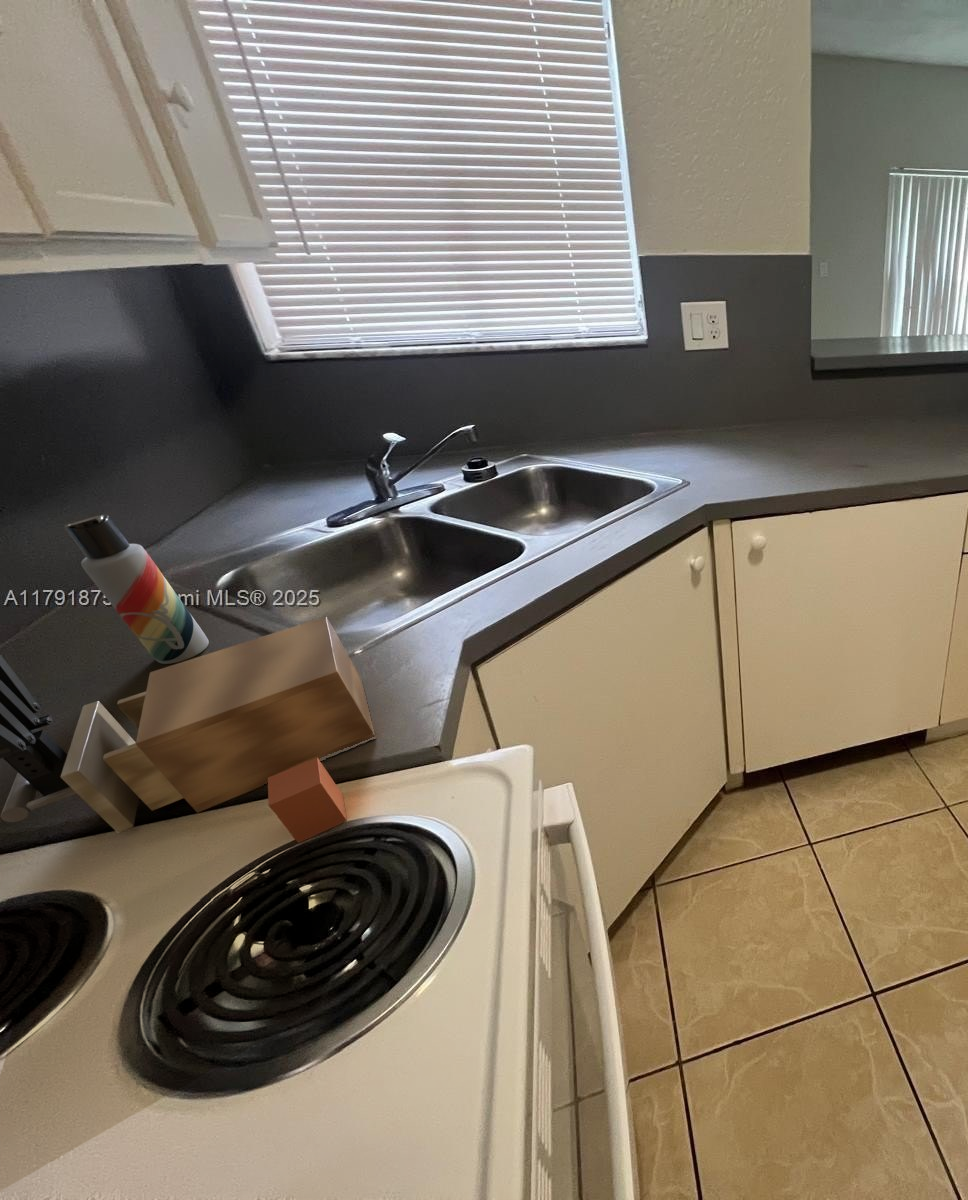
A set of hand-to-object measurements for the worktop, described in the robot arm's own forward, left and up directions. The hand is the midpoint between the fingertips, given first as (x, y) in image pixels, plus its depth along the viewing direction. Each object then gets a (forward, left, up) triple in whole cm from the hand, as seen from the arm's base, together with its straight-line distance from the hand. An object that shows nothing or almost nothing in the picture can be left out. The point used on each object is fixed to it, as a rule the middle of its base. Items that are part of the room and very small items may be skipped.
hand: (69, 788), depth 60 cm
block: (+24, -2, -4) cm, 24 cm away
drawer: (+6, +4, -3) cm, 8 cm away
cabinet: (+13, +9, -4) cm, 17 cm away
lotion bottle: (-12, +27, -4) cm, 30 cm away
